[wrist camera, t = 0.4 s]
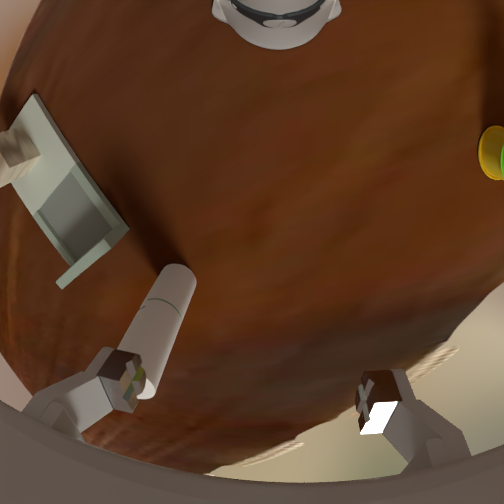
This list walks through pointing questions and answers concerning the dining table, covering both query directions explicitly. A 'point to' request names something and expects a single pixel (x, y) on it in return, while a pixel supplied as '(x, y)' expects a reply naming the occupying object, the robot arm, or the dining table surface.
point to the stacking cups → (492, 152)
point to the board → (65, 196)
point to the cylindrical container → (159, 323)
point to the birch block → (16, 154)
